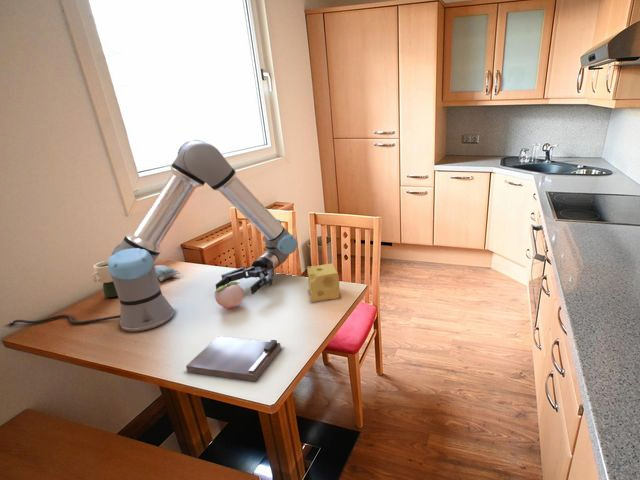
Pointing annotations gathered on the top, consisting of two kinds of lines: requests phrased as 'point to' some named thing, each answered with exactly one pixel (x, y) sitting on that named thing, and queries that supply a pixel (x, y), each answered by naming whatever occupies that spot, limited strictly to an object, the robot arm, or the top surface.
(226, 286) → the decorative fruit
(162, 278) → the packaged food
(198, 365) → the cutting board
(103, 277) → the character mug
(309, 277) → the cheese
